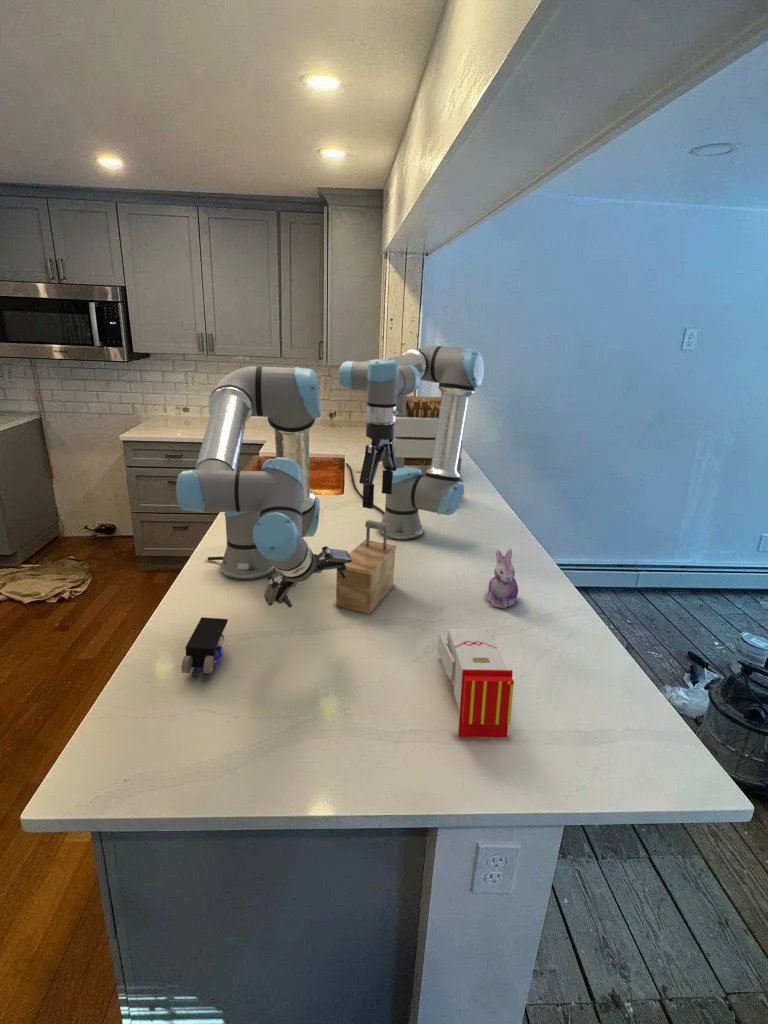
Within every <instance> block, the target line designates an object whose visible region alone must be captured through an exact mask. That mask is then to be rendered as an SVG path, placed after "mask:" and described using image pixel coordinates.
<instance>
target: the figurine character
mask: <svg viewBox="0 0 768 1024" xmlns="http://www.w3.org/2000/svg"><path fill="white" fill-rule="evenodd" d="M228 622H229V619H228V618H217V617H216V618H215V617H203V616H202V617H200V619H199V621H198V623H197V625H196V626H195V628H194V630H193V632H192V634H191V636H190V638H189V639H188V642H187V643H186V645H185V647H184V648H185V655H184V656H183V658H182V662H181V666H180V667H181V668H180V670H181V673H182V674H190V673H191V678H195V677H196V675H197V672H198V670H203V673H204V674H205V675H204V677H205V679H207V678H208V677H209V675H210V674H212V673H213V670H215V669H216V663H217V662H218V661H219V660H220V659H221V658H223V652H222V650H223V645H224V644H225V635H224V634H223V633H224V630H225V628H226V626H227V624H228ZM216 652H218V655H216ZM192 668H193V670H192ZM191 670H192V672H191Z"/></svg>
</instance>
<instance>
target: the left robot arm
mask: <svg viewBox="0 0 768 1024" xmlns="http://www.w3.org/2000/svg"><path fill="white" fill-rule="evenodd" d="M319 385H320V384H319V381H318V375H317V373H316V372H315V370H314V369H312V368H306V367H299V366H295V367H282V366H281V367H279V366H257V365H249V366H245V367H241V368H238V369H236V370H234V371H232V372H230V373H228V374H227V375H226V376H224V377H223V378H222V379H221V380H220V381H219V382H218V383H217V384H216V385H215V386H214V388H213V390H212V391H211V393H210V396H209V399H208V411H209V413H210V414H209V417H208V420H207V425H206V428H205V432H204V435H203V439H202V441H201V445H200V449H199V454H198V458H197V460H196V464H195V466H194V469H190V470H182V471H181V472H179V473H178V475H177V479H176V484H175V486H176V487H175V491H176V492H175V493H176V501H177V505H178V507H179V508H180V509H181V511H184V512H195V513H201V514H204V513H224V517H225V519H224V520H225V534H226V548H225V551H224V555H223V556H208V557H207V560H208V561H221V572H222V573H223V575H225V576H227V577H228V578H230V579H231V578H232V579H234V580H254V579H255V580H256V579H261V578H263V577H266V576H267V577H266V579H267V585H266V588H265V590H264V594H263V598H264V600H265V602H266V604H267V606H268V607H271V606H272V605H274V604H275V602H276V603H278V604H279V605H282V604H285V605H286V606H287V607H288V608H290V609H291V608H292V607H293V603H292V602H291V600H290V598H289V596H288V595H287V594H288V593H289V591H290V590H291V589H292V588H295V587H296V586H297V584H299V583H302V582H305V581H306V580H308V579H309V578H310V577H311V576H312V575H314V574H320V573H322V572H323V571H328V570H337V569H338V571H339V573H340V575H341V576H342V578H343V579H344V578H346V577H345V575H344V573H343V571H344V570H346V569H347V567H346V566H345V563H350V562H351V561H352V559H351V557H350V555H349V552H348V550H344V549H337V548H336V549H335V548H329V546H328V545H325V546H323V547H322V548H321V551H320V553H318V554H316V553H314V552H313V551H312V549H311V547H310V546H309V544H308V543H307V541H306V540H305V539H304V538H309V537H310V538H311V537H313V536H315V535H316V534H317V531H318V527H319V521H320V509H321V501H320V497H317V496H315V493H314V491H313V490H312V489H310V429H311V428H312V427H313V426H314V424H315V422H316V419H318V418H320V417H321V416H322V406H321V405H322V404H321V396H320V386H319ZM251 417H258V418H259V417H260V418H261V417H264V418H265V417H266V418H267V422H268V425H269V426H270V427H271V428H272V429H273V430H274V441H275V443H274V445H275V457H274V458H269V459H267V460H265V461H264V462H263V463H262V465H261V468H260V470H238V466H239V461H240V455H241V451H242V443H243V439H244V433H245V428H246V422H248V421H249V419H250V418H251ZM274 570H276V571H277V572H278V573H279V575H277V576H276V575H275V576H274V575H270V574H272V573H273V572H274Z"/></svg>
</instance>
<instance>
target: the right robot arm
mask: <svg viewBox="0 0 768 1024" xmlns="http://www.w3.org/2000/svg"><path fill="white" fill-rule="evenodd" d="M484 377H485V365H484V359H483V356H482V354H481V352H480V351H479V350H477V349H475V348H469V347H460V346H459V347H458V346H457V347H456V346H443V345H430V346H423V347H418V348H414V349H409V350H407V351H405V352H404V353H403V354H399V355H398V354H397V355H392V356H389V357H382V358H377V359H370V360H365V361H356V360H346V361H343V363H341V365H340V367H339V371H338V380H339V383H340V385H341V387H343V388H345V389H349V390H352V391H354V390H355V391H366V392H367V394H366V395H367V401H366V416H365V417H366V418H365V419H366V421H367V422H366V423H365V436H366V437H367V438H368V439H370V440H371V442H370V444H366V445H365V450H364V453H365V454H364V458H363V462H362V468H361V471H360V476H359V481H358V482H359V484H361V485H362V493H361V492H360V491H359V490H358V487H357V485H356V483H355V480H354V475H353V473H354V472H353V470H352V467H351V466H350V465H349V463H347V462H346V463H345V465H346V466H347V468H348V469H349V472H350V477H351V478H350V479H351V483H352V486H353V489H354V490H355V492H356V493H357V494H358V496H359V497H360V498H361V499H362V508H365V509H370V510H373V509H374V508H375V509H376V510H378V511H379V512H380V513H381V514H382V519H381V522H382V523H387V524H389V528H388V530H387V539H389V540H395V541H410V540H415V539H418V538H420V537H421V536H422V535H423V525H422V524H421V518H420V515H419V510H421V511H426V512H429V513H435V514H437V515H443V516H444V515H445V516H451V515H453V514H454V513H456V512H457V510H458V509H459V508H460V506H461V504H462V502H463V499H464V495H465V485H464V483H462V482H459V481H460V478H461V474H460V475H459V474H458V472H457V465H458V459H459V452H460V446H461V440H462V441H463V438H462V434H463V435H464V432H463V428H464V429H465V421H466V415H467V408H468V403H469V398H470V397H471V396H472V395H474V394H475V389H476V388H479V387H480V386H482V384H483V381H484ZM422 381H424V382H430V383H436V384H437V383H438V390H439V391H440V393H441V392H442V399H441V406H440V412H439V418H438V425H437V431H436V438H435V444H434V450H433V457H432V463H431V465H430V466H429V468H427V469H426V470H425V473H424V474H422V470H421V468H419V467H414V466H411V467H409V466H406V467H404V468H397V469H396V458H395V451H394V444H393V441H394V437H395V424H394V423H393V422H395V418H396V415H397V413H398V412H397V411H396V401H397V396H401V395H407V396H409V395H410V394H412V393H414V392H416V391H417V390H418V389H419V387H420V386H421V382H422ZM392 461H393V462H392ZM380 463H382V466H383V469H384V470H382V481H381V494H385V504H384V505H385V507H384V508H385V509H384V510H383V509H381V508H380V507H378V506H377V505H375V504H374V502H375V501H374V499H375V497H374V496H375V495H374V494H375V483H374V480H375V477H376V474H377V472H378V471H377V470H378V467H379V464H380ZM378 533H379V534H380V535H381V536H382V537H384V531H383V530H378Z"/></svg>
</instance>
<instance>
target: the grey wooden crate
mask: <svg viewBox="0 0 768 1024" xmlns="http://www.w3.org/2000/svg"><path fill="white" fill-rule="evenodd" d="M440 393H441V394H440V396H415V395H414V396H413V395H412V396H411V395H401V396H397V401H396V411H397V412H398V413H397V415H396V418H395V422H393V423H394V424H395V437H394V441H393V444H394V451H395V458H396V469H397V468H405V466H406V467H409V466H411V467H417V466H418V467H431V463H432V457H433V450H434V444H435V438H436V431H437V425H438V418H439V412H440V406H441V399H442V392H441V391H440ZM464 429H465V427H464V428H463V434H462V440H461V446H460V452H459V459H458V465H457V472H458V474H459V475H460V476H461V472H462V461H463V460H462V453H463V442H464V441H463V438H464V431H465V430H464ZM392 462H393V461H392Z"/></svg>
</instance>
